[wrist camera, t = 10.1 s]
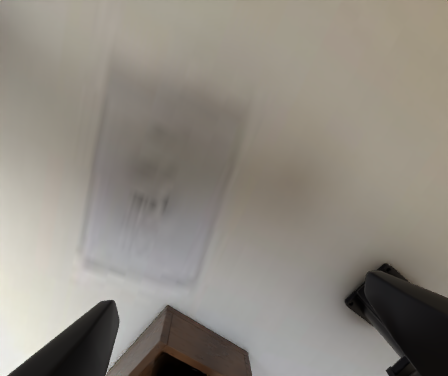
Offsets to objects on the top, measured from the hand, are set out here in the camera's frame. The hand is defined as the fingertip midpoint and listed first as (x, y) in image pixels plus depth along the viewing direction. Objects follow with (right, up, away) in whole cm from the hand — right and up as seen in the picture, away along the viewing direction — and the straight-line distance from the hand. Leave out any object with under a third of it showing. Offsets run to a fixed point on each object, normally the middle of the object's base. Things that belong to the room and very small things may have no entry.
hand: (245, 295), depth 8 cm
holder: (-6, -17, +18) cm, 25 cm away
